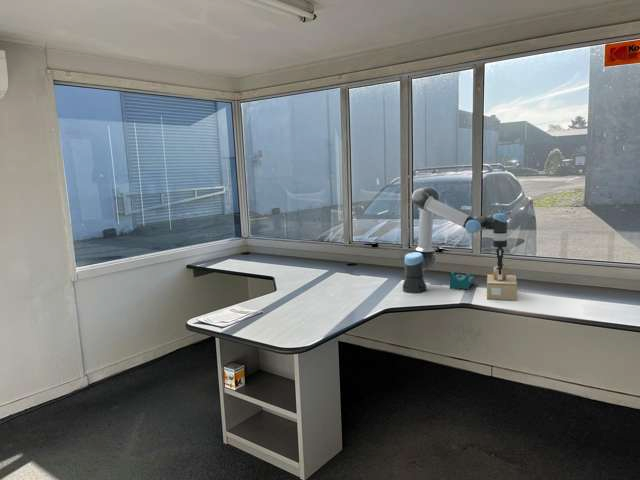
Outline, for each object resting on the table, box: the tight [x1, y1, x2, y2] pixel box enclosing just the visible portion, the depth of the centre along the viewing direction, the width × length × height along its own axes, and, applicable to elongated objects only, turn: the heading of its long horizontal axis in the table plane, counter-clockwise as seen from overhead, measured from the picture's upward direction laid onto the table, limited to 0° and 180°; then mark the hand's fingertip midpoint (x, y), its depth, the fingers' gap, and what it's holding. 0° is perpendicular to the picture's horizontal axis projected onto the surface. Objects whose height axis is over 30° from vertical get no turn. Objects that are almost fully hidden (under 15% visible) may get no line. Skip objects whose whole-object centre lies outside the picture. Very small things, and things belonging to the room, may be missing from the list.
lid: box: [486, 274, 518, 286], centre depth 267 cm, size 16×20×1 cm
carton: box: [486, 283, 518, 302], centre depth 268 cm, size 16×20×9 cm
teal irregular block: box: [449, 271, 474, 291], centre depth 292 cm, size 18×11×10 cm, turn 150°
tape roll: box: [493, 265, 507, 280], centre depth 267 cm, size 7×7×7 cm
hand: (499, 277), depth 267 cm, fingers open, 7 cm apart
